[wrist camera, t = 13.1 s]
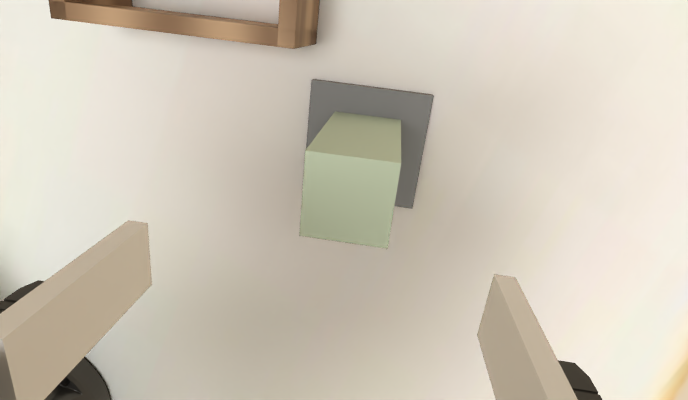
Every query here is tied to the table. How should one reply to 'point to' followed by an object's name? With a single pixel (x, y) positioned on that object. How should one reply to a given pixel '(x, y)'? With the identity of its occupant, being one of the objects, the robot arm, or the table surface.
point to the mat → (379, 104)
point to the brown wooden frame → (199, 21)
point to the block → (352, 180)
